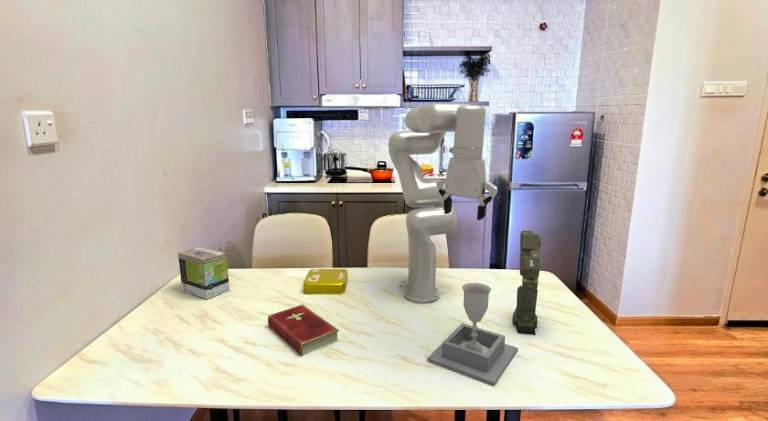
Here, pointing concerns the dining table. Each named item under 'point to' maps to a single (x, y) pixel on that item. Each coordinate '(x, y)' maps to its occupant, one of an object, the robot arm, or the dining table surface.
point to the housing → (474, 354)
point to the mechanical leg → (527, 284)
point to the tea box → (204, 272)
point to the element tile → (326, 281)
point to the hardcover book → (302, 329)
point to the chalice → (475, 308)
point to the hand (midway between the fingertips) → (463, 216)
